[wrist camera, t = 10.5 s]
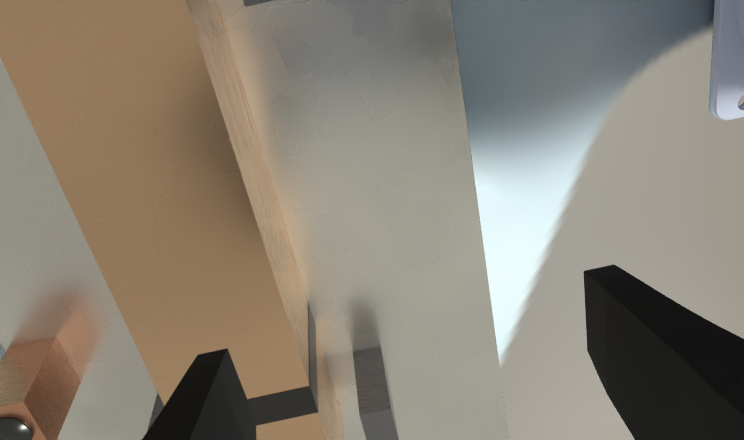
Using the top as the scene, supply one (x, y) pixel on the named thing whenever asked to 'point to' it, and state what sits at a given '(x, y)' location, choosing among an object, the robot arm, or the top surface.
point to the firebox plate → (304, 228)
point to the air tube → (173, 194)
